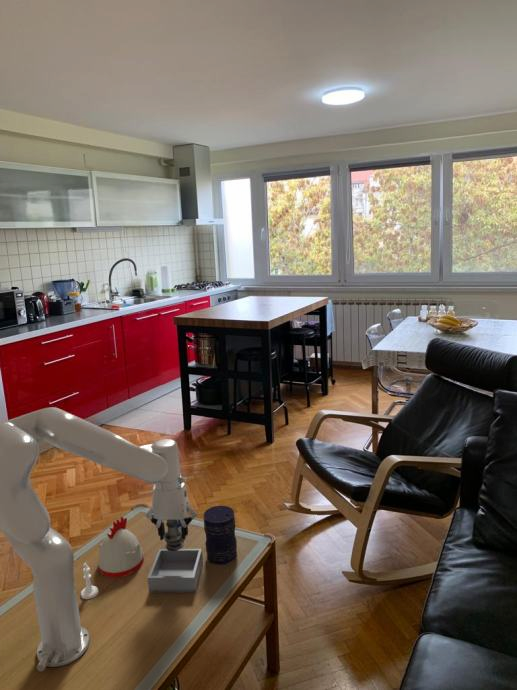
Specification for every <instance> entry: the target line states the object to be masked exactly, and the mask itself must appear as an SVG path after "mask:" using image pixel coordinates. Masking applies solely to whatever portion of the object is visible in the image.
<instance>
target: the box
mask: <svg viewBox="0 0 517 690" xmlns="http://www.w3.org/2000/svg"><path fill="white" fill-rule="evenodd" d="M203 557H204V556H203V549H202V548H181V549H179V550H176V551H169V550H167V549H166V548H159V549H158V551H157V553H156V556H155V559H153V560H154V561H153V563H152V565H151V567H150V568H151V569H150V570H149V573H148V576H147V586H148V592H149V594H152V593H153V594H155V593H156V594H157V593H158V594H160V593H161V594H162V593H163V594H165V593H166V594H171V593H173V594H174V593H175V594H179V593H181V594H182V593H185V594H187V593H189V594H191V593H192V594H195V593H196V591H197V588H198V583H199V580H200V577H201V572H202V568H203V564H204V559H203Z"/></svg>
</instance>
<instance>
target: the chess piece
mask: <svg viewBox="0 0 517 690" xmlns="http://www.w3.org/2000/svg"><path fill="white" fill-rule="evenodd" d="M82 566H83V567H84V568H83V569H82V572H83V574H84V575H83V580H85V587H84V588H83V589H82V590H81V592H80V597H81V599H83V600H89V599H93V598H95V597H96V596H97V595H98V594H99V589H98V587H97V586H95V585H92V582H91V577H92V574H91V573H90V570H91V569H90V568H91V567H90V566H89V565H87V562H84V564H83V565H82Z"/></svg>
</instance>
